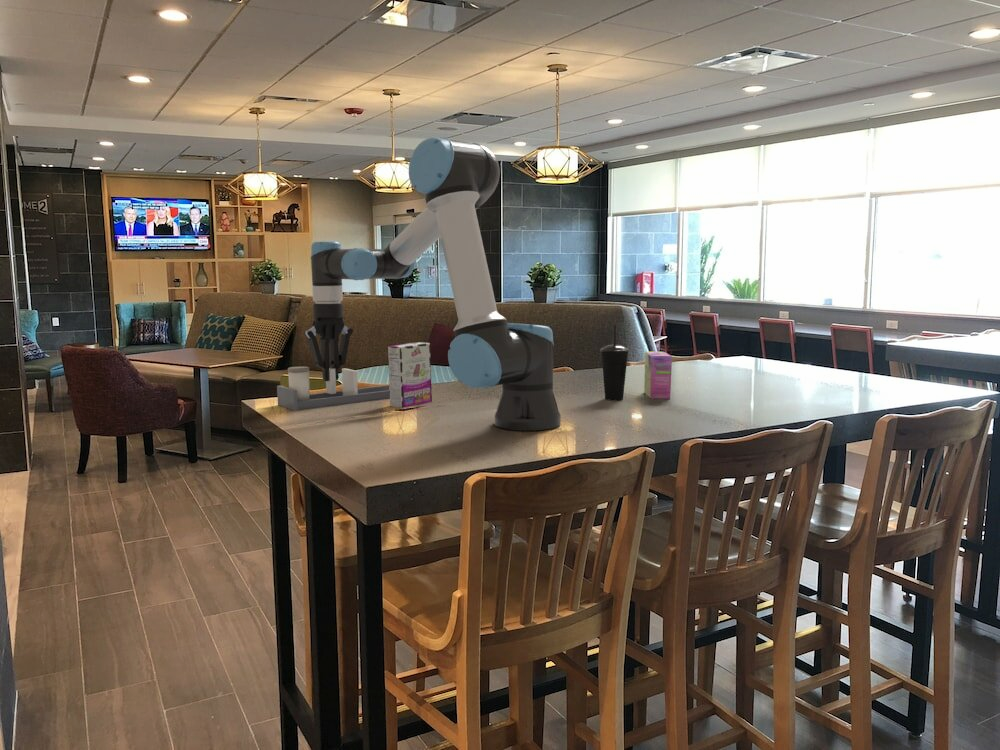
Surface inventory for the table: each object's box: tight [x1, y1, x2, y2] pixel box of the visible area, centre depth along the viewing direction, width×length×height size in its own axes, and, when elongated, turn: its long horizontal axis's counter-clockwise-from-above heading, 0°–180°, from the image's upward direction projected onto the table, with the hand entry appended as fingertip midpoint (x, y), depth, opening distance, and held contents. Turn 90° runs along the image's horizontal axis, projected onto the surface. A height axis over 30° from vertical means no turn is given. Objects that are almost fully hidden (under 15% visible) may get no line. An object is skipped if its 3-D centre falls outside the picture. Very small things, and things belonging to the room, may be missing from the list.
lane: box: [276, 384, 390, 412], centre depth 209 cm, size 10×32×6 cm, turn 128°
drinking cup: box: [600, 324, 630, 401], centre depth 214 cm, size 8×8×20 cm
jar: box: [287, 366, 311, 401], centre depth 201 cm, size 5×5×10 cm
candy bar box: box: [387, 341, 433, 412], centre depth 203 cm, size 11×5×16 cm, turn 143°
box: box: [643, 351, 673, 400], centre depth 219 cm, size 10×6×12 cm, turn 179°
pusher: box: [341, 367, 359, 396], centre depth 210 cm, size 7×4×8 cm, turn 38°
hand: (331, 393), depth 207 cm, fingers closed
